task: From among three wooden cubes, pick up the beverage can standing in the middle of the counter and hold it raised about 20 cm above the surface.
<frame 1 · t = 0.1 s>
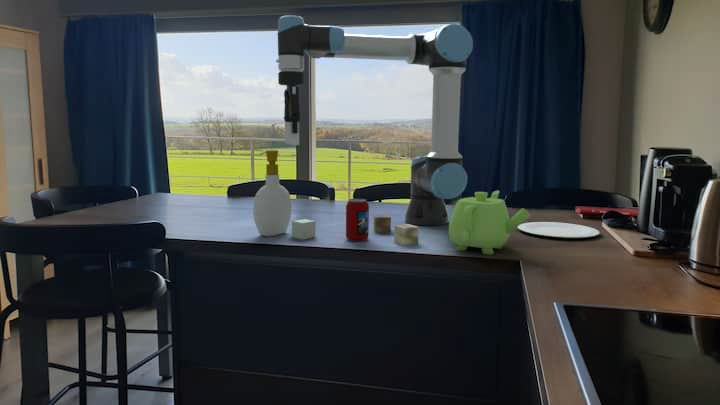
hand: (291, 144, 161), 28 cm above the kitchen island, fingers open, 13 cm apart
plate: (557, 234, 173), on the kitchen island
walnut cube: (381, 231, 173), on the kitchen island
sage painted cube: (303, 237, 163), on the kitchen island
soap bottle: (272, 234, 167), on the kitchen island
maple cube: (406, 242, 156), on the kitchen island
teapot: (490, 249, 150), on the kitchen island
beverage can: (357, 240, 160), on the kitchen island
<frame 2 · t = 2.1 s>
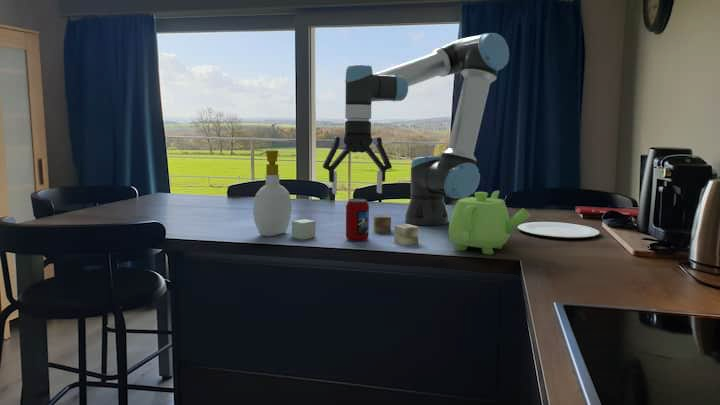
hand: (357, 193, 158), 14 cm above the kitchen island, fingers open, 13 cm apart
nothing on the kitchen island moved.
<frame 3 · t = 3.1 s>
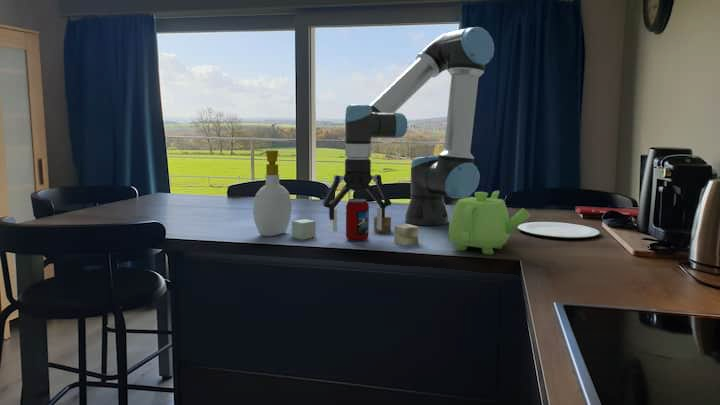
hand: (357, 229, 159), 3 cm above the kitchen island, fingers open, 13 cm apart
nothing on the kitchen island moved.
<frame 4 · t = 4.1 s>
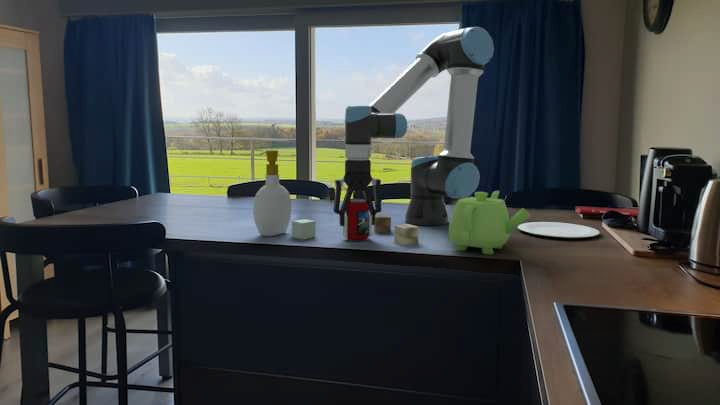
hand: (357, 236, 160), 1 cm above the kitchen island, fingers closed on beverage can, 7 cm apart
beverage can: (357, 240, 160), on the kitchen island, touching gripper
everything else where it was.
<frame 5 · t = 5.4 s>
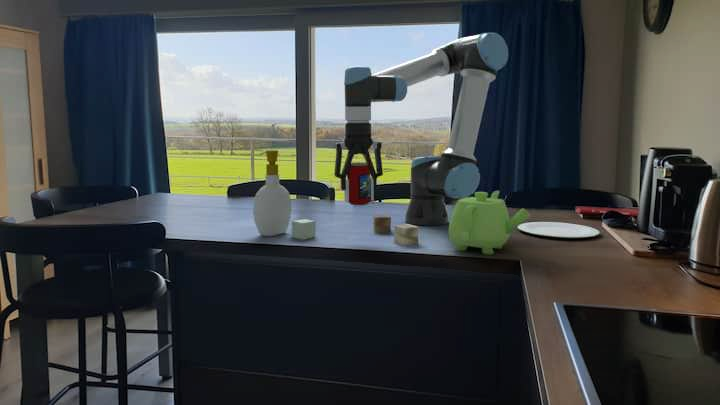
hand: (359, 200, 158), 12 cm above the kitchen island, fingers closed on beverage can, 7 cm apart
beverage can: (359, 204, 159), point 10 cm above the kitchen island, touching gripper
everything else where it was.
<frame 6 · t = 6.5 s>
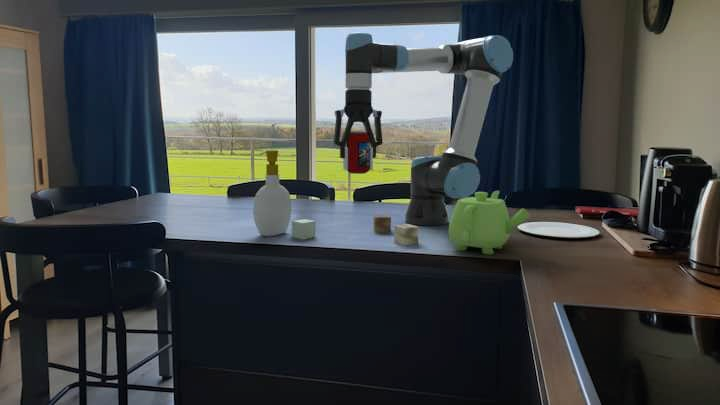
hand: (357, 169, 157), 21 cm above the kitchen island, fingers closed on beverage can, 7 cm apart
beverage can: (357, 173, 157), point 20 cm above the kitchen island, touching gripper
everything else where it was.
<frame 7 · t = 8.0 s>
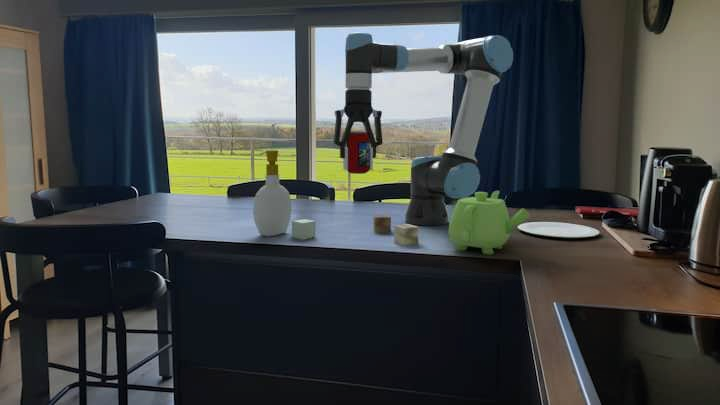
hand: (357, 169, 157), 21 cm above the kitchen island, fingers closed on beverage can, 7 cm apart
beverage can: (357, 173, 157), point 20 cm above the kitchen island, touching gripper
everything else where it was.
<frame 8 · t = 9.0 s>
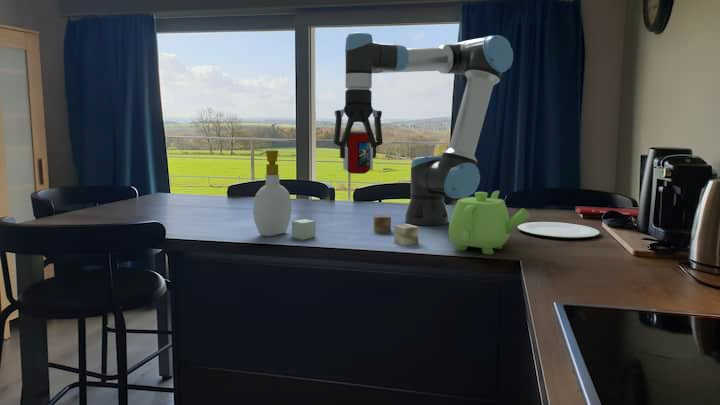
hand: (357, 169, 157), 21 cm above the kitchen island, fingers closed on beverage can, 7 cm apart
beverage can: (357, 173, 157), point 20 cm above the kitchen island, touching gripper
everything else where it was.
at the end: the gripper is holding beverage can; beverage can point 19.7 cm above the kitchen island; maple cube moved 0.1 cm from its start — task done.
